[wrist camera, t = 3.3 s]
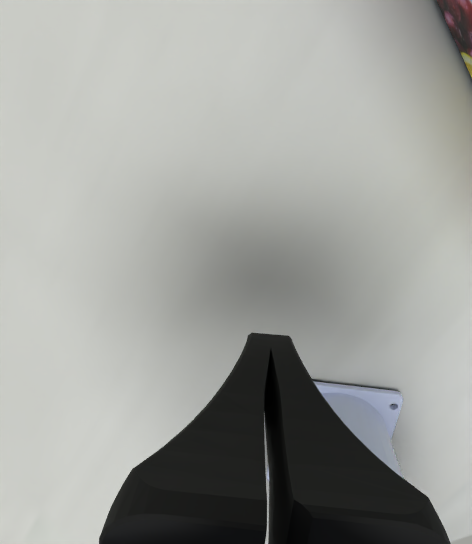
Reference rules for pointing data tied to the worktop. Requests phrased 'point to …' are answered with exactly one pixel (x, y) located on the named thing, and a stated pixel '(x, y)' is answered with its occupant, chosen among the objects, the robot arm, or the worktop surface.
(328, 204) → the worktop surface
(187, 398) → the worktop surface
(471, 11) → the snack box
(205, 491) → the robot arm
